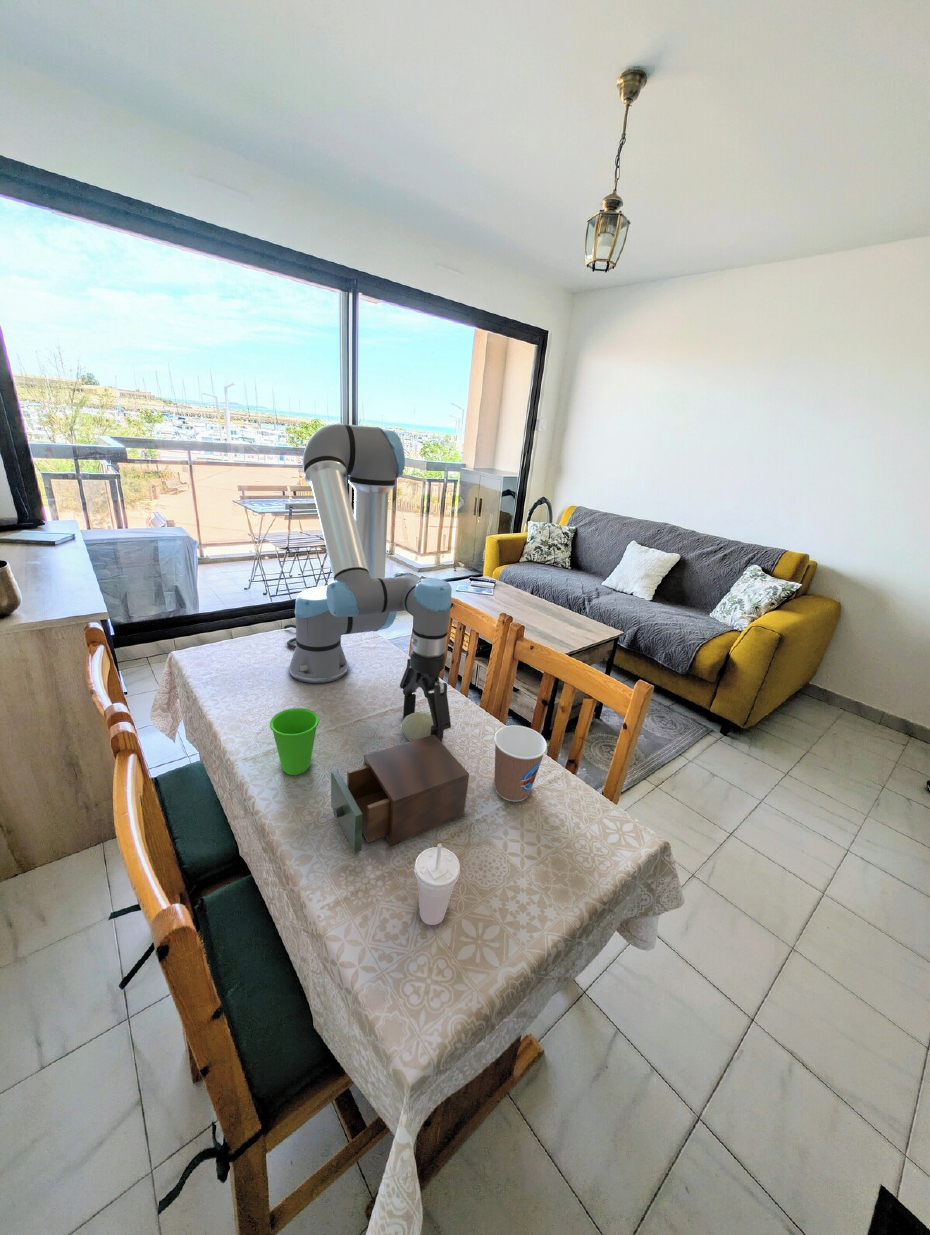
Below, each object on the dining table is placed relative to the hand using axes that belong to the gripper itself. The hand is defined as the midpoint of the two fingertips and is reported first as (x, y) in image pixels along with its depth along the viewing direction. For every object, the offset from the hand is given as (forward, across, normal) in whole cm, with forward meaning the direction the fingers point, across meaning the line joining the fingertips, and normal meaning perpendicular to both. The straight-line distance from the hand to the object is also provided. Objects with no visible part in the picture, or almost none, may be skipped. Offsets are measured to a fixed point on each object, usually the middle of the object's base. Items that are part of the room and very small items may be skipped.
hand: (421, 733), depth 109 cm
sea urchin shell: (0, 0, 0) cm, 0 cm away
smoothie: (0, +39, -19) cm, 43 cm away
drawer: (-1, +19, -19) cm, 27 cm away
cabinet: (0, +19, -12) cm, 22 cm away
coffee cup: (0, +24, +8) cm, 25 cm away
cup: (0, -1, -28) cm, 28 cm away
